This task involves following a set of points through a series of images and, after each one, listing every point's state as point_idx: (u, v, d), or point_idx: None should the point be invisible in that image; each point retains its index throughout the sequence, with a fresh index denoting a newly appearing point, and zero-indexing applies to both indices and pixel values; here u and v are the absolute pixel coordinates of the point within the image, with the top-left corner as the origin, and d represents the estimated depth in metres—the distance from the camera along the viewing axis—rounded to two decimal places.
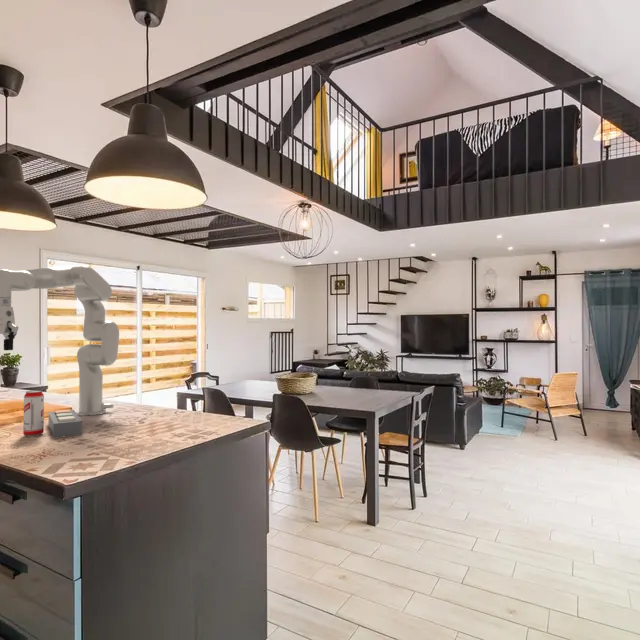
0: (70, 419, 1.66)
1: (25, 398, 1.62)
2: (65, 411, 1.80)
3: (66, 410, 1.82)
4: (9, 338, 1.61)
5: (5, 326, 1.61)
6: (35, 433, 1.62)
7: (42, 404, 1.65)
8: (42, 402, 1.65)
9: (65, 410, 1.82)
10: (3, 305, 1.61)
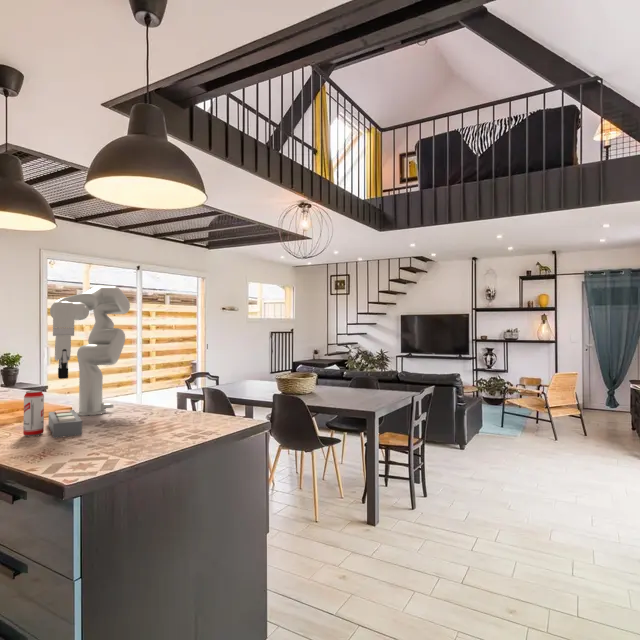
0: (70, 419, 1.66)
1: (25, 398, 1.62)
2: (65, 411, 1.80)
3: (66, 410, 1.82)
4: None
5: None
6: (35, 433, 1.62)
7: (42, 404, 1.65)
8: (42, 402, 1.65)
9: (65, 410, 1.82)
10: None
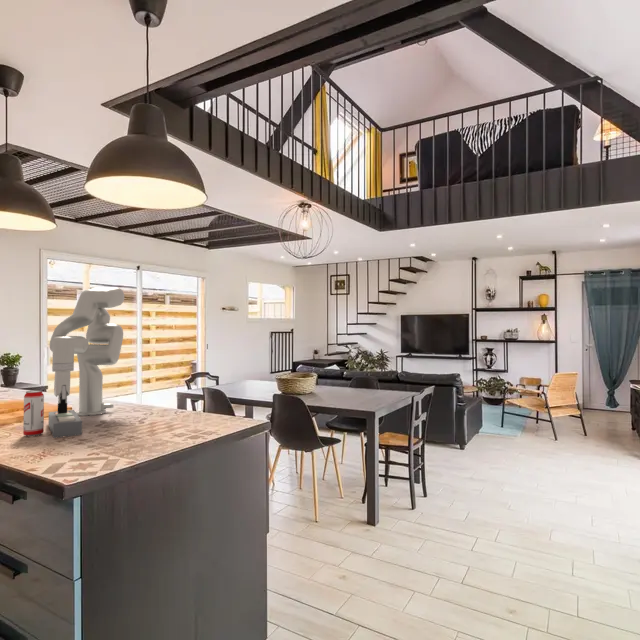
0: (70, 419, 1.66)
1: (25, 398, 1.62)
2: None
3: None
4: None
5: None
6: (35, 433, 1.62)
7: (42, 404, 1.65)
8: (42, 402, 1.65)
9: None
10: None
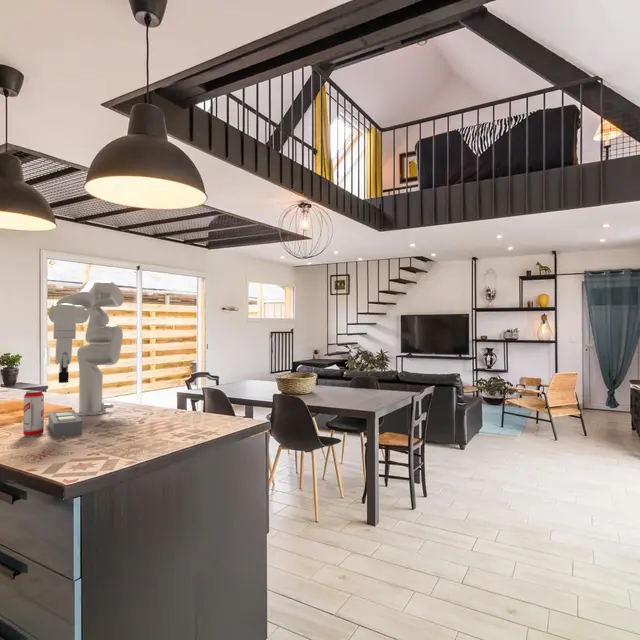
0: (70, 419, 1.66)
1: (25, 398, 1.62)
2: None
3: (66, 412, 1.82)
4: None
5: None
6: (35, 433, 1.62)
7: (42, 404, 1.65)
8: (42, 402, 1.65)
9: (65, 412, 1.82)
10: None
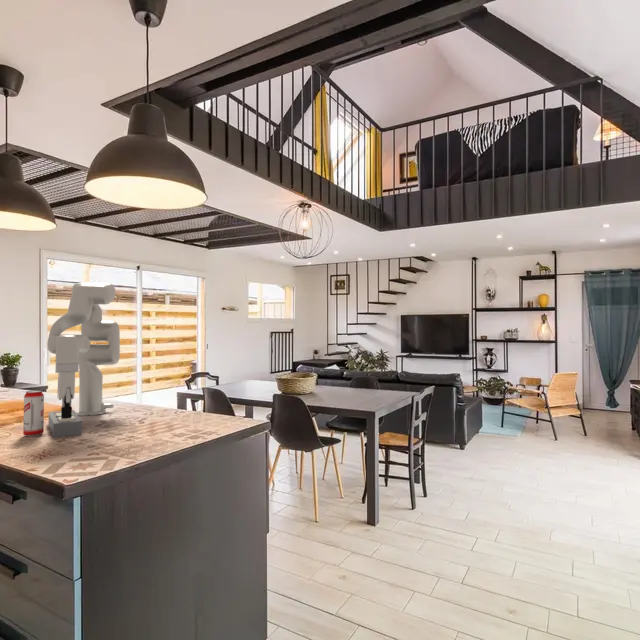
0: (70, 419, 1.66)
1: (25, 398, 1.62)
2: None
3: None
4: None
5: None
6: (35, 433, 1.62)
7: (42, 404, 1.65)
8: (42, 402, 1.65)
9: None
10: None
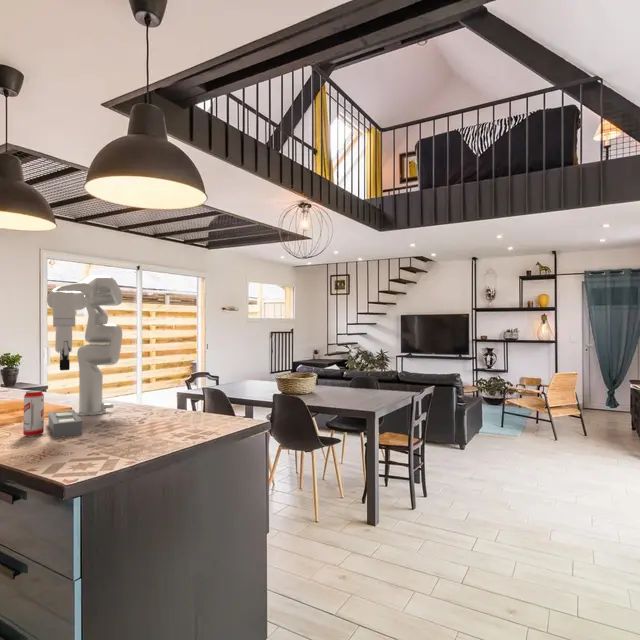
0: None
1: (25, 398, 1.62)
2: None
3: (66, 412, 1.82)
4: None
5: None
6: (35, 433, 1.62)
7: (42, 404, 1.65)
8: (42, 402, 1.65)
9: (65, 412, 1.82)
10: None
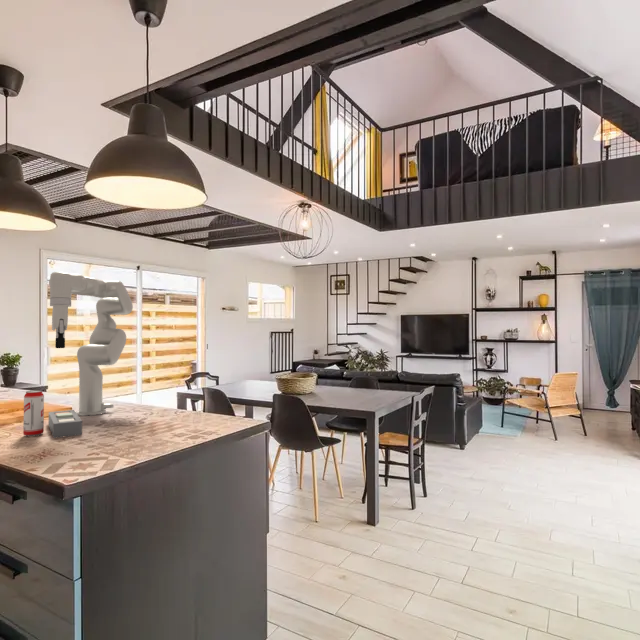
0: None
1: (25, 398, 1.62)
2: None
3: (66, 412, 1.82)
4: None
5: None
6: (35, 433, 1.62)
7: (42, 404, 1.65)
8: (42, 402, 1.65)
9: (65, 412, 1.82)
10: None
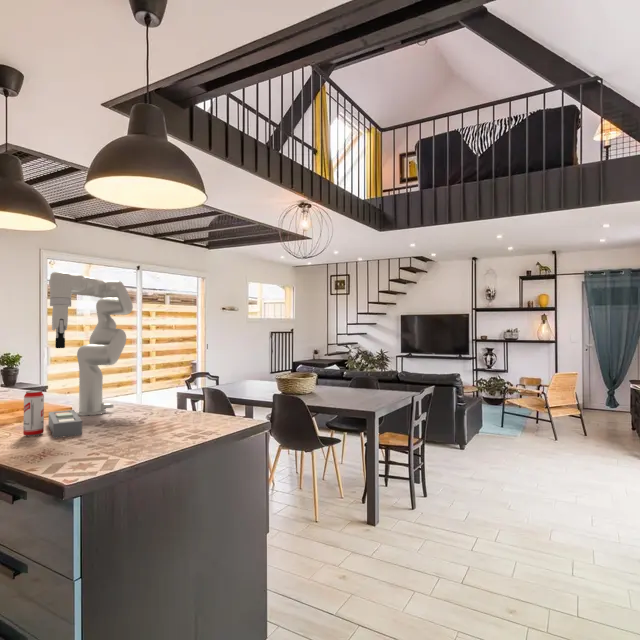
0: None
1: (25, 398, 1.62)
2: None
3: (66, 412, 1.82)
4: None
5: None
6: (35, 433, 1.62)
7: (42, 404, 1.65)
8: (42, 402, 1.65)
9: (65, 412, 1.82)
10: None
